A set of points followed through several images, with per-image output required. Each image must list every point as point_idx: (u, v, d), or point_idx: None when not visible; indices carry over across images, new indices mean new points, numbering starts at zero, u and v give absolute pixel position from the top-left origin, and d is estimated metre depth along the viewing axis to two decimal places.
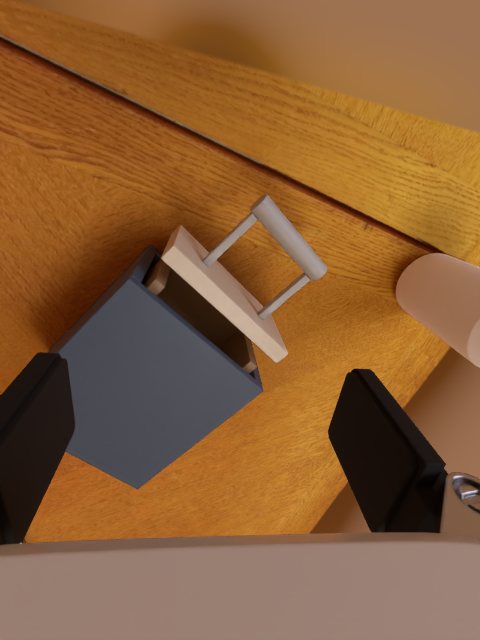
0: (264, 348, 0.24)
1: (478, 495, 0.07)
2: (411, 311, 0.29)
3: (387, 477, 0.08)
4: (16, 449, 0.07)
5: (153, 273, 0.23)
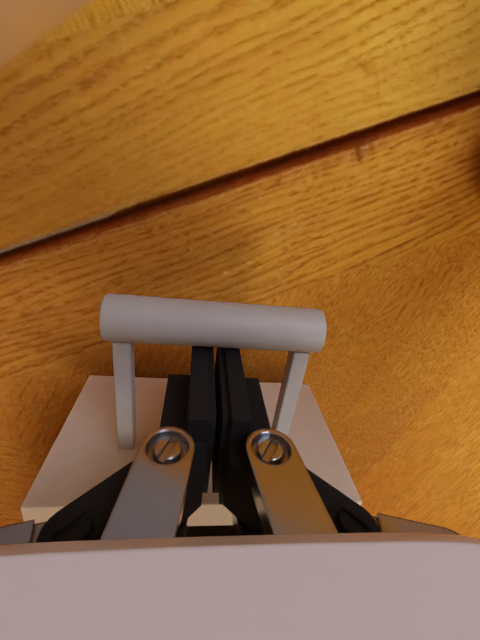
0: None
1: (271, 444, 0.08)
2: None
3: (218, 437, 0.09)
4: None
5: None
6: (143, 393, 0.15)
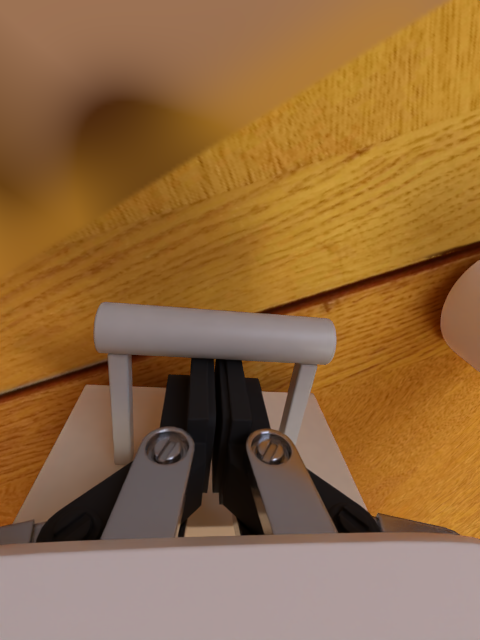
0: None
1: (270, 443, 0.08)
2: None
3: (218, 437, 0.09)
4: None
5: None
6: (142, 404, 0.15)
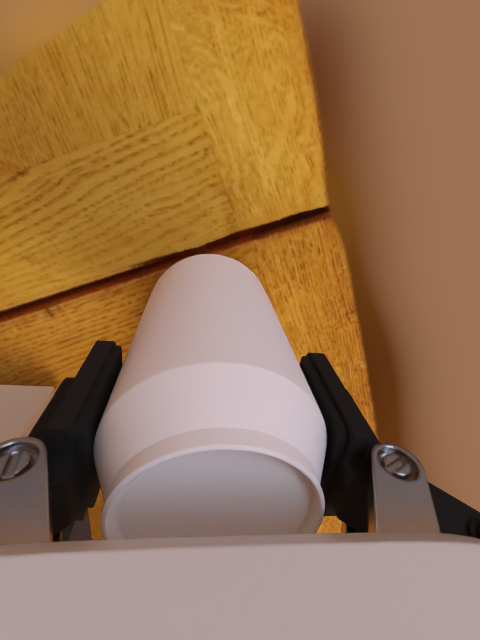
0: None
1: (398, 460, 0.08)
2: None
3: (326, 450, 0.09)
4: (94, 422, 0.08)
5: None
6: None
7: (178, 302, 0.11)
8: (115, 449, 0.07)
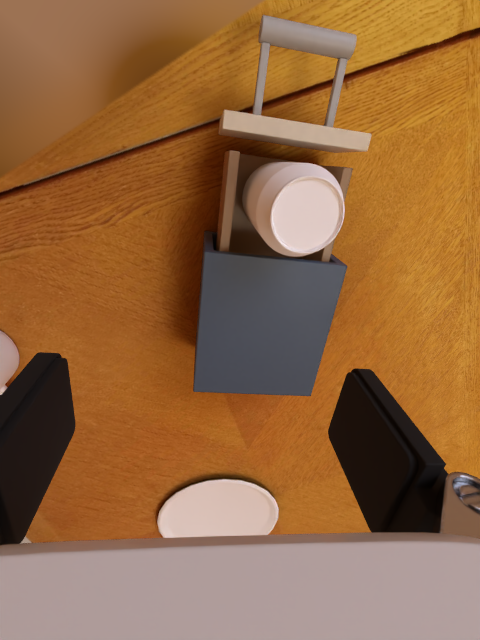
0: (347, 144, 0.25)
1: (478, 495, 0.07)
2: None
3: (387, 477, 0.08)
4: (16, 449, 0.07)
5: (226, 161, 0.27)
6: None
7: (277, 164, 0.24)
8: (274, 189, 0.20)
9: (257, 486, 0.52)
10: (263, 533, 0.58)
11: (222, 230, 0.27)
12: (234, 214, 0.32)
